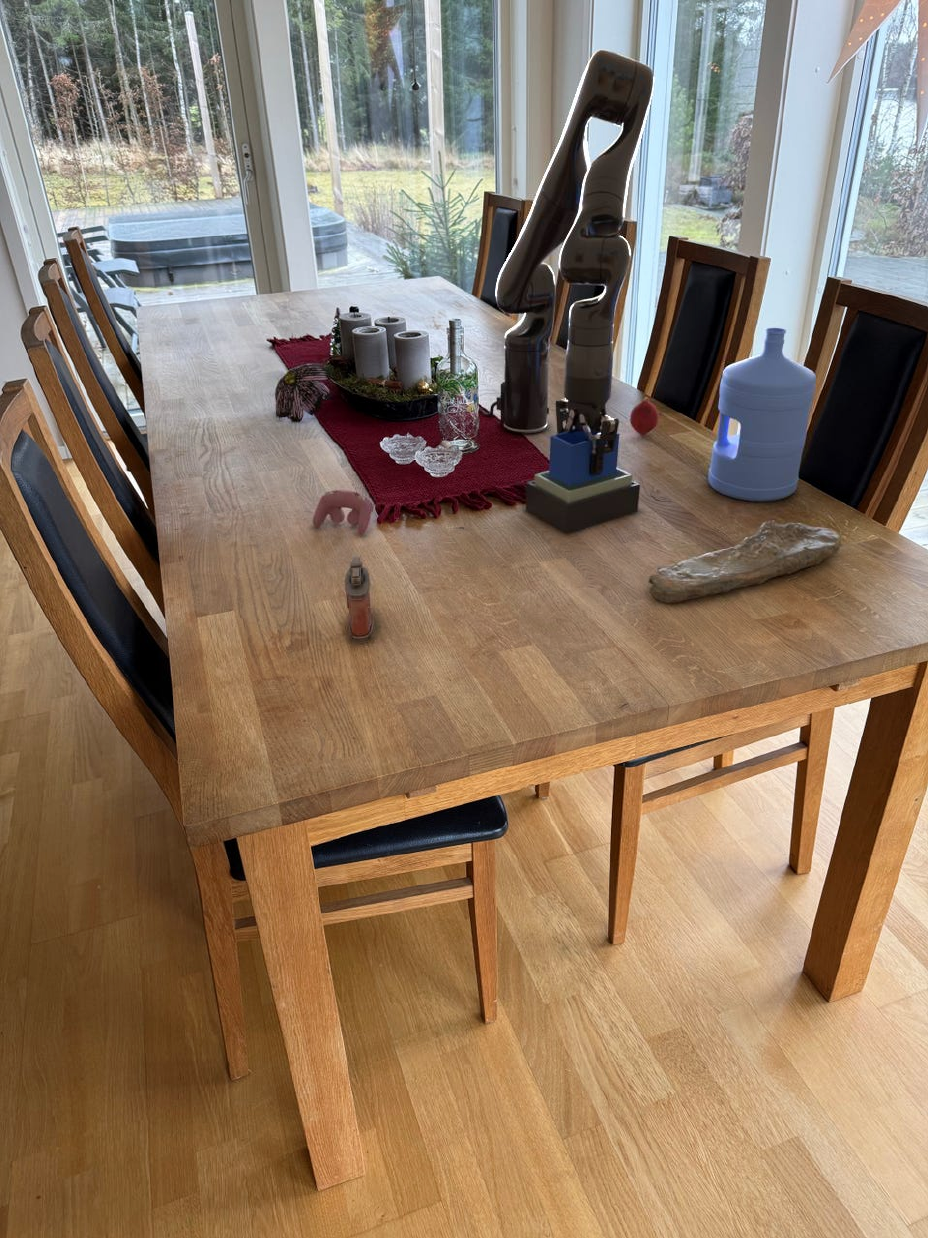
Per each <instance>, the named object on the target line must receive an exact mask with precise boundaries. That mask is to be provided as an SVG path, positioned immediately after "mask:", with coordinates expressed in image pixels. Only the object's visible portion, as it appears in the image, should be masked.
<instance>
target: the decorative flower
mask: <svg viewBox="0 0 928 1238" xmlns="http://www.w3.org/2000/svg"><path fill="white" fill-rule="evenodd" d="M330 374H331V372H330V371H328V369H327V368H326V367H325V366H324V364H323V363H317V362H310V363H309V362H308V363H305V364H302V365H297V366H294V367H291V369H289V370H287V372H286V373H285V374H284V375H283V376H282V377H281V378H280V379H279V381H278V382H277V384H276V386H275V391H274V399H275V400H274V401H275V416H276V418H278V419H280V420H281V419H283V418H287V419H289V420H290V422H291V423H301V422H302V420H303V418H304V411H305V412H306V413H307V414H308V415H310V416H313V415H314V414H315V412H318V411H319V410H318V409H320V408H321V407H320V406H321V405H322V402H324V401H329V400H330V398H331V397H332V392H331V390H330V388H329V387H328V386H327V385H326V384H325V383H324V382H326V381H331V380H332V378H331V376H330ZM322 381H323V382H322Z"/></svg>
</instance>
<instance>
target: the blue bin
mask: <svg viewBox="0 0 928 1238" xmlns="http://www.w3.org/2000/svg"><path fill="white" fill-rule="evenodd" d="M591 434H592V435H597V434H598V430H597V431H596V432H593V433H591ZM549 439H550V440H549V467H548V468H549V469H548V471H549V475H550V476H552V477H554V478H556V479H558V480H559V481H561V482H563V483H565V484H567V485H569V486H572V485H576V484H579V483H583V482H586V481H590V480H593V479H597V478H600V477H604V476H608V475H611V474H615V473H616V472H617V468H618V460H619V459H618V457H619V445H620V433H618V432H617V436H616V441H615V446H614V451H613V452H609V453H606V454H604V459H603V470H602V472H601V473H600V474H598V475H595V476H592V475H590V474H589V465H590V454H591V452H590V441H586V440H585V436H584V433H583V432H582V431H577V432H573V433H569V432H564V433H560V434H557V433H556V434H552V435H550V437H549ZM595 443H596V447H598V445H599V439H596V440H595ZM607 444H608V442H606V445H607Z"/></svg>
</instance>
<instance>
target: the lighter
mask: <svg viewBox="0 0 928 1238" xmlns="http://www.w3.org/2000/svg"><path fill="white" fill-rule="evenodd" d="M370 579H371V578H370V572H369V571H368V569H367V567H365V566H363V561H362V558H361V557H360V556H353V557H351V561H350V562H349V568H348V570H347V572H346V573H345V576H344V588H345V589H344V590H345V600H346V608H347V609H348V615H349V620H348V627H349V628H348V629H349V636H350V639H351V641H352V642H354V643H356V644H364V643H367V642H369V641H370V640H371V639H372V637H373V633H374V627H375V624H374V616H373V613H372V605H371V595H370V589H371V588H370V587H371V580H370Z"/></svg>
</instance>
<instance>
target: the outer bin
mask: <svg viewBox="0 0 928 1238" xmlns="http://www.w3.org/2000/svg"><path fill="white" fill-rule="evenodd" d="M640 489H641V483H638V482H637V481H634V480H632V485H630V486H626V487H623V488H620V489H616V490H613V491H609V492H606V493H602V494H599V495H596V496H592V497H589V498H585V499H582V500H578V501H575V502H572V503H566V502H564V501H563V500H561V499H559V498H557V497H555V496H554V495H552V494H550V493H548V492H546V491H545V490H543V489H541V488H539V487H537V486H536V485H534V480H530V481H527V482H526V483H525V511H526V512H528V513H530V514H532V515H533V516H535V517H537V518H538V519H540V520H541V521H543V522H545V523H547V524H549V525H550V526H552V527H553V528H555V529H557V530H558V531H561V532H562V533H564V534H566V535H567V534H570V533H574V532H578V531H580V530H585V529H588V528H590V527H593V526H596V525H601V524H603V523H606V522H610V521H613V520H616V519H619V518H623V517H626V516H629V515H633V514H636V513H638V512H639V501H640V491H641V490H640Z"/></svg>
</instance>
